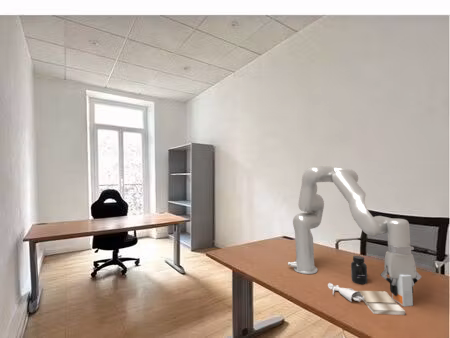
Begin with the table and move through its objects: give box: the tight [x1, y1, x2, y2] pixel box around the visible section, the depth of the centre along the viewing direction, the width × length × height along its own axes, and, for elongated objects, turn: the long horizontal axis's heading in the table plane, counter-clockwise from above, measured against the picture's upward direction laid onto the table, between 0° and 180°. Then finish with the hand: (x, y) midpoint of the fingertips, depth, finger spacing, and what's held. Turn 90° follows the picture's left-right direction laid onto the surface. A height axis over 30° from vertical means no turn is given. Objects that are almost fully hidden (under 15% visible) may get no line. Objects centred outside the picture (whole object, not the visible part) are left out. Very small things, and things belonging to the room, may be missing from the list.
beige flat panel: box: [357, 290, 397, 306], centre depth 101 cm, size 11×8×1 cm
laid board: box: [367, 303, 406, 316], centre depth 93 cm, size 11×5×2 cm, turn 82°
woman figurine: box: [327, 282, 364, 303], centre depth 106 cm, size 12×4×18 cm
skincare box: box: [391, 275, 414, 307], centre depth 99 cm, size 6×4×12 cm
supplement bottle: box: [350, 255, 368, 286], centre depth 119 cm, size 7×7×12 cm
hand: (401, 293), depth 99 cm, fingers open, 5 cm apart
